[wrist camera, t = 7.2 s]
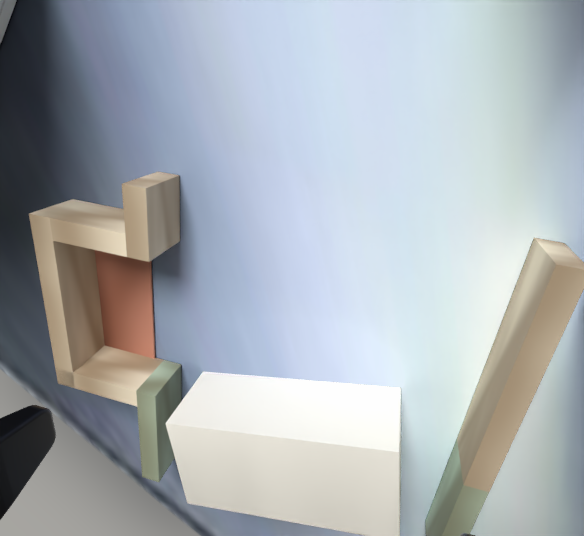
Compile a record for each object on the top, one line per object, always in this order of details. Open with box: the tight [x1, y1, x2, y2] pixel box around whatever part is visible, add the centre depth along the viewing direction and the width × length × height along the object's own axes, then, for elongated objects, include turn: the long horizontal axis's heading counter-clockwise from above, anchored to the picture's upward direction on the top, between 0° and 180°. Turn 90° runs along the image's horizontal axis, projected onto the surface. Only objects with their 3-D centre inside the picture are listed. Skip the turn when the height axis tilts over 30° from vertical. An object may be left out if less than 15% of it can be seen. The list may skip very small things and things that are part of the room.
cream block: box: [165, 372, 401, 536], centre depth 20 cm, size 10×5×4 cm, turn 96°
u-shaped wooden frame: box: [29, 172, 584, 536], centre depth 19 cm, size 20×16×2 cm
